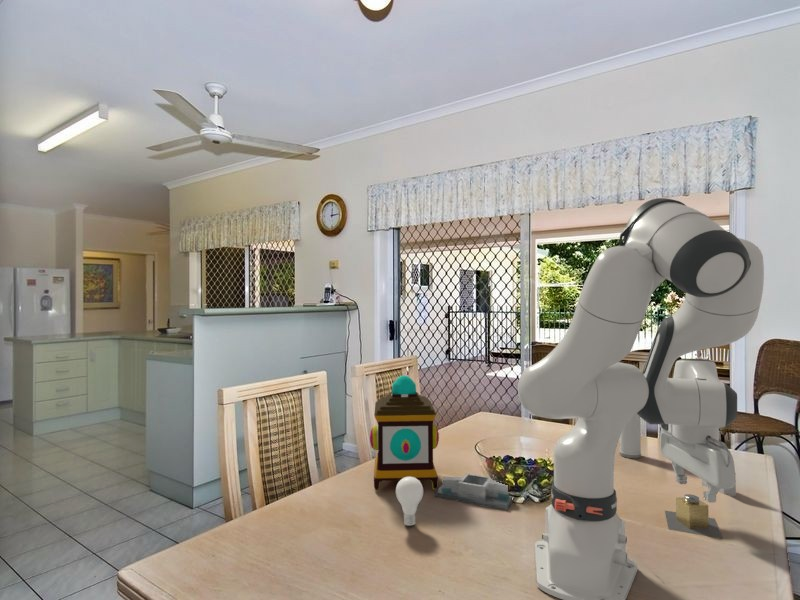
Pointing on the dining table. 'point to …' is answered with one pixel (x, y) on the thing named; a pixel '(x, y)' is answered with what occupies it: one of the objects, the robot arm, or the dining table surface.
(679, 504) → the block
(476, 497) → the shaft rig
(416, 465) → the decorative lantern
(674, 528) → the rubber mat
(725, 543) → the dining table surface
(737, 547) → the dining table surface
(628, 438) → the travel mug
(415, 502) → the lightbulb
